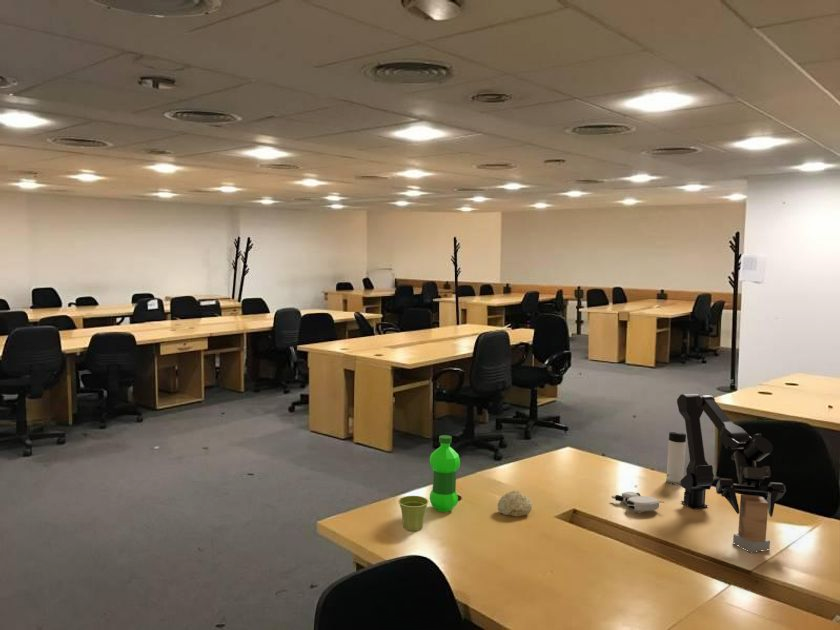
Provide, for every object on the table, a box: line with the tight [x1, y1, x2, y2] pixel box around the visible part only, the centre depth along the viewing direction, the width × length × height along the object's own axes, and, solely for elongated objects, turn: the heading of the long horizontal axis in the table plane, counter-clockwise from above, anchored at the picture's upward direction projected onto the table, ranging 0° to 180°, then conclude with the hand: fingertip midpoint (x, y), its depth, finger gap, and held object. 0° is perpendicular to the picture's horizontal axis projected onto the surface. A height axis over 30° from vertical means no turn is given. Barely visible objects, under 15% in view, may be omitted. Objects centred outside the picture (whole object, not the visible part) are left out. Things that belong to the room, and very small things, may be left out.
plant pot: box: [398, 495, 430, 532], centre depth 210 cm, size 9×9×9 cm
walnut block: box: [737, 494, 769, 542], centre depth 201 cm, size 6×6×12 cm
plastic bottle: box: [429, 434, 461, 513], centre depth 226 cm, size 10×10×25 cm
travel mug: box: [665, 431, 687, 485], centre depth 259 cm, size 6×7×20 cm
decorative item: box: [497, 489, 533, 517], centre depth 225 cm, size 12×9×10 cm
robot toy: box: [611, 491, 665, 513], centre depth 232 cm, size 12×4×15 cm
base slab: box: [732, 533, 771, 553], centre depth 202 cm, size 7×7×3 cm
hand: (754, 514), depth 200 cm, fingers open, 9 cm apart
